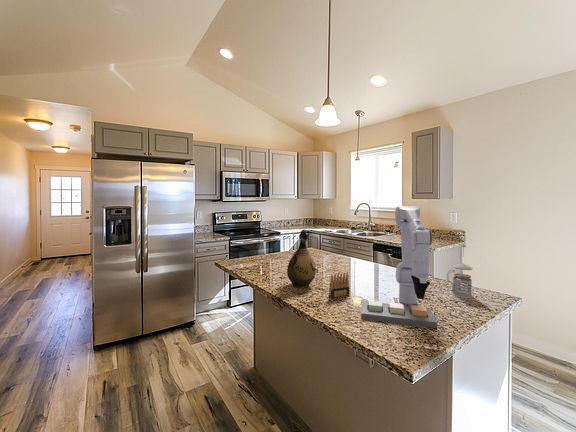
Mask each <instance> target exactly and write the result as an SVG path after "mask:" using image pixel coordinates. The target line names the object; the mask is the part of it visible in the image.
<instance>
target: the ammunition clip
mask: <svg viewBox="0 0 576 432" xmlns="http://www.w3.org/2000/svg"><path fill="white" fill-rule="evenodd" d="M349 279H350V278H349V273H348V272H346V273H345V272H343V273H342V272H340V274H339V273H337V275H336V273H334V275H333V274H332V273H331V274H330V280H329V281H330V282H329V289H328V299H334V298H335V299H336V298H340V297H346V296H350V285H349V284H350V281H349Z"/></svg>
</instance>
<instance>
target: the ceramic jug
mask: <svg viewBox="0 0 576 432" xmlns="http://www.w3.org/2000/svg"><path fill="white" fill-rule="evenodd" d="M308 238H309V235H308V234H307V230H306V229H302V230H301V231H300V233H299V234H298V239H299V241H300V242H299V245H298V247H297V249H296V250H295V252H294V253H293V254H292V256H291V257H290V259H289V261H288V265H287V267H286V268H287V269H286V270H287V271H286V274H287V278H288V279H289V281H290V283H291V287H292V286H293V287H292V288H296V289H306V288H308V287H309V286H310V284H311V282H313V281H314V279H316V278H315V277H316V274H317V270H316V264H315V261H314V258H313V256H312V255H311V253H310V252H309V250H308V247H307V245H306V242H308Z"/></svg>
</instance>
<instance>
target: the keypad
mask: <svg viewBox="0 0 576 432" xmlns="http://www.w3.org/2000/svg"><path fill="white" fill-rule="evenodd" d="M369 301H370V300H363V301H362V307H361V314H360V315H361V319H363V320H370V321H377V322H378V321H379V322H385V323H387V322H388V323H393V324H394V323H395V324H402V325H408V326H409V325H410V326H418V327H425V328H434V329H437V328H438V320H436V317H435V315H434V313H433V312H432V310H431V308H430V307H426V310H427V317H423V316H414V315H412V314H411V305H407V304H403V306H404V314H397V313H390V311H389V304H390V303H387V302H382V312H379V311H371V310H369Z"/></svg>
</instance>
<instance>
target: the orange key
mask: <svg viewBox="0 0 576 432" xmlns="http://www.w3.org/2000/svg"><path fill="white" fill-rule="evenodd" d="M410 306H411V314H412V315H414V316H423V317H427V310H426V308H427V307H426V305H425V306H424V305H416V304H413V305H410Z"/></svg>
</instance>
